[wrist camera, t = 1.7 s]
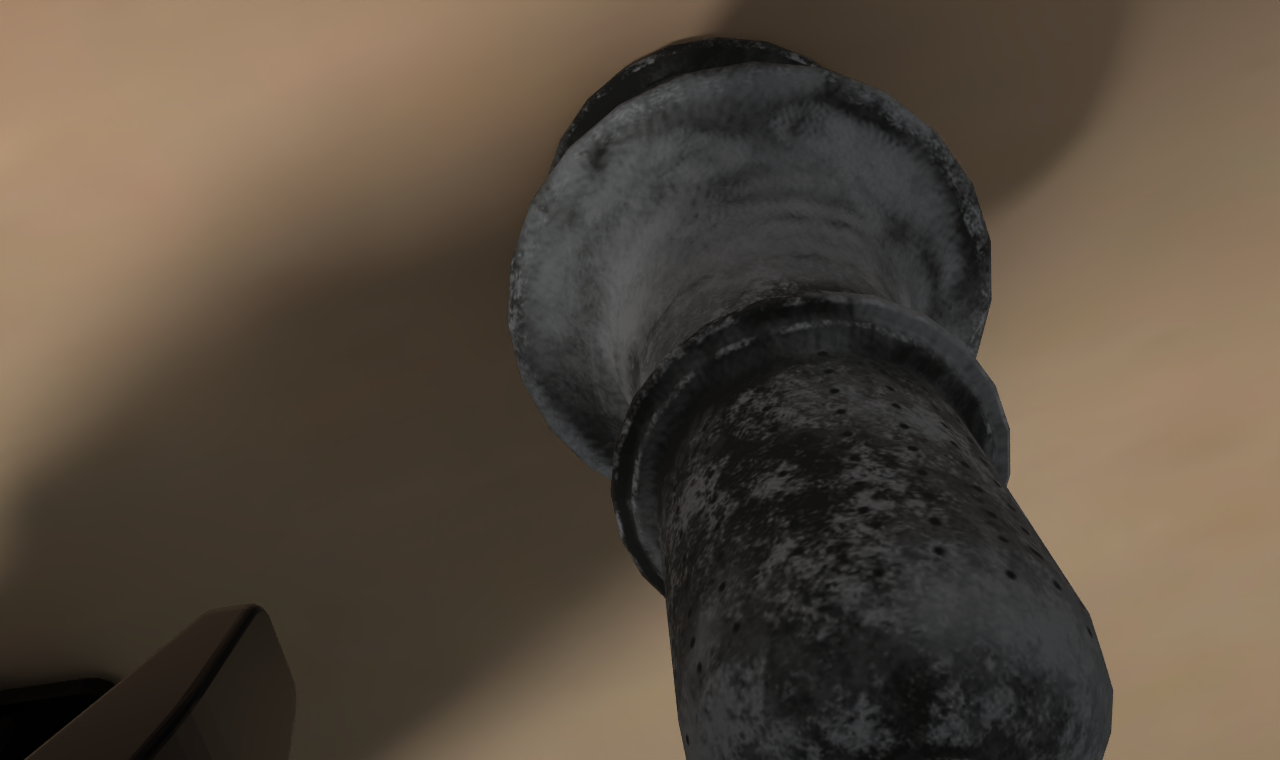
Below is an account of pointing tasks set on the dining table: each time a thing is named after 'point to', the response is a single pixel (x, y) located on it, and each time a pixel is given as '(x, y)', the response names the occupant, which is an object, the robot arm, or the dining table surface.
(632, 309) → the salt shaker
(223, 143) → the dining table surface
